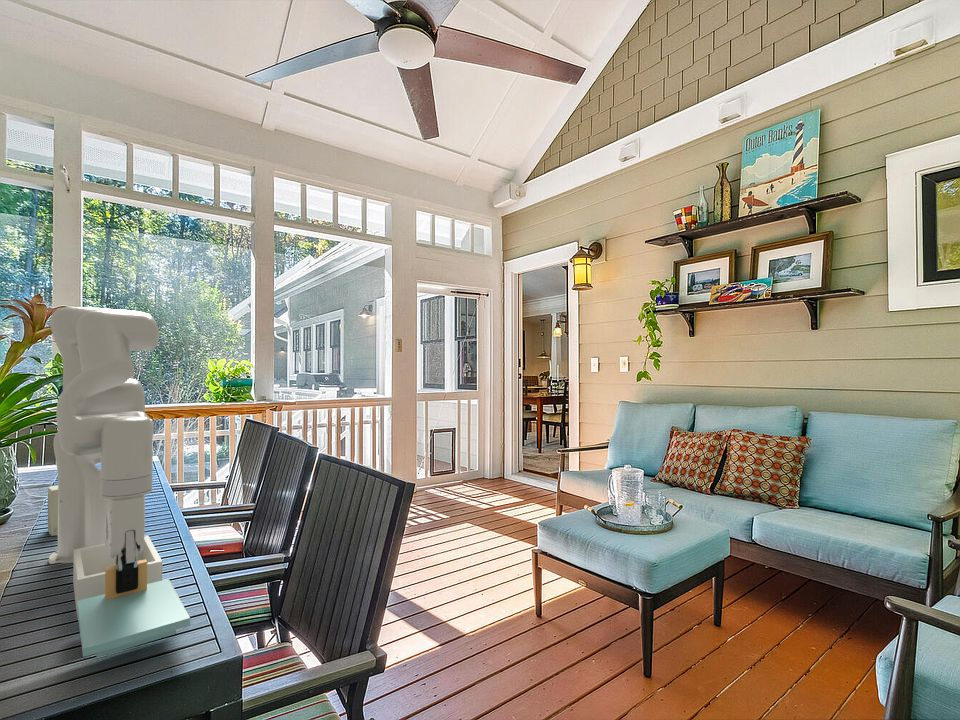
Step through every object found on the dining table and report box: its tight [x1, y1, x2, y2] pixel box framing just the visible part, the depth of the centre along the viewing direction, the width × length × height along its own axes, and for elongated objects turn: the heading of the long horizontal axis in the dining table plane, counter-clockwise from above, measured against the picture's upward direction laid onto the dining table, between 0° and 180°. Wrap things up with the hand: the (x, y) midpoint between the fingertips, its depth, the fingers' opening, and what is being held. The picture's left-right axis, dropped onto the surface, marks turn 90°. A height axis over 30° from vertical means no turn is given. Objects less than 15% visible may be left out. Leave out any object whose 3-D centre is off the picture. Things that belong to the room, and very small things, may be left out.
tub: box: [72, 535, 163, 620], centre depth 101 cm, size 18×13×8 cm
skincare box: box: [47, 485, 58, 537], centre depth 135 cm, size 6×4×12 cm
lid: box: [76, 559, 191, 658], centre depth 84 cm, size 19×14×8 cm
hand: (126, 587), depth 89 cm, fingers closed on lid, 1 cm apart
